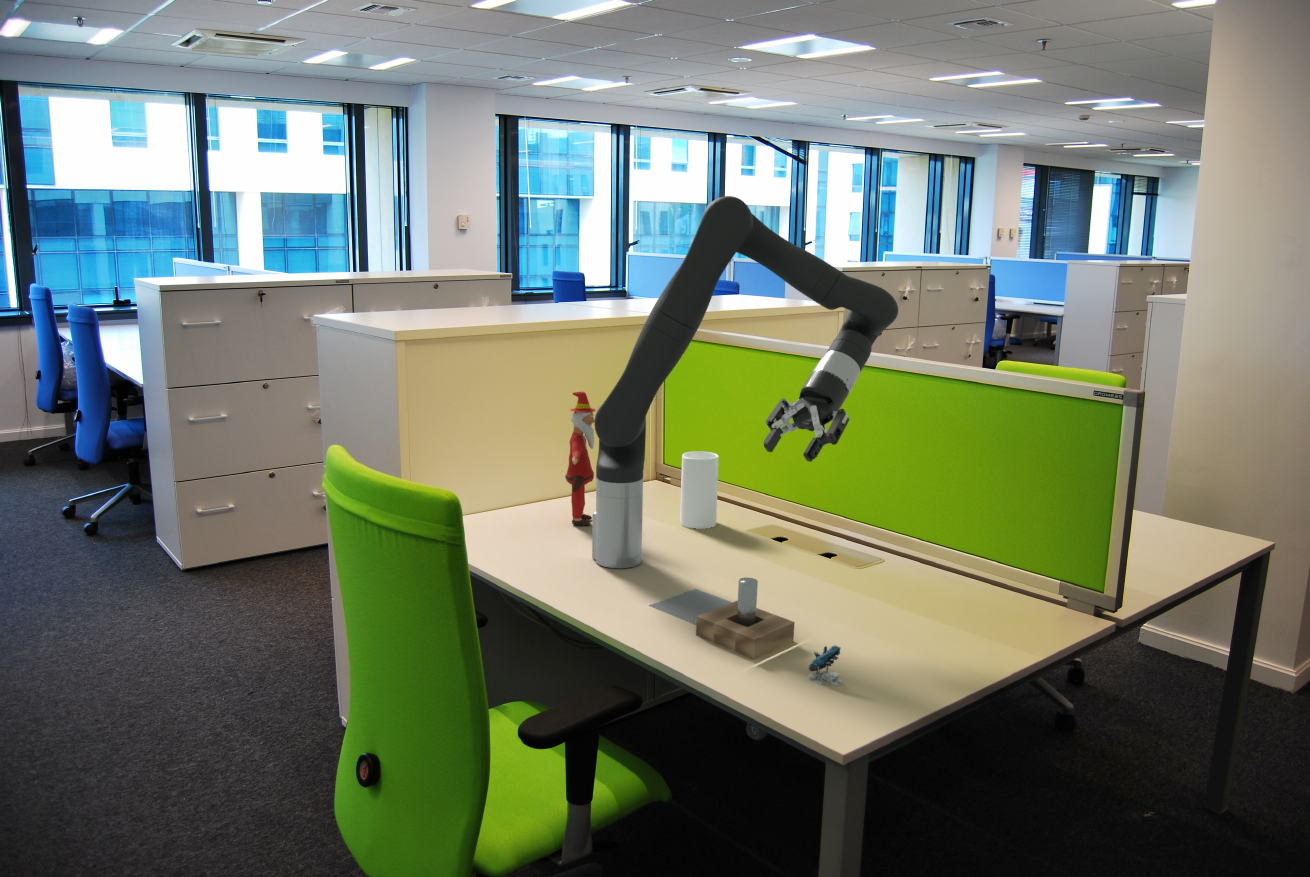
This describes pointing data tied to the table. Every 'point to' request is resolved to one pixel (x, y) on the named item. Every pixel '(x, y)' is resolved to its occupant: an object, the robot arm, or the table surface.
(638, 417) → the robot arm
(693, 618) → the mat
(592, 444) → the figurine
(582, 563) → the table surface
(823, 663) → the sculpture
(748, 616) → the peg
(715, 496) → the cup
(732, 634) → the hole block
